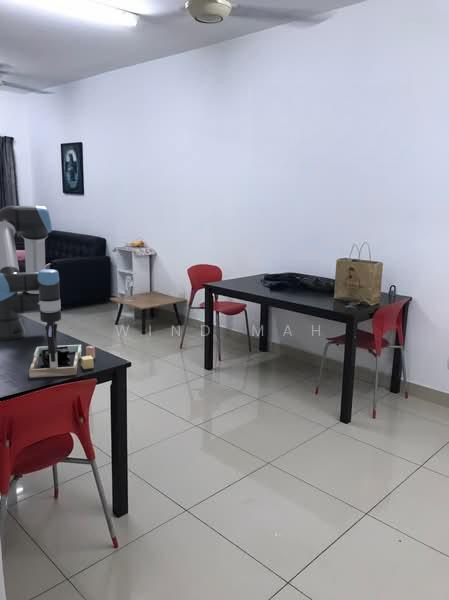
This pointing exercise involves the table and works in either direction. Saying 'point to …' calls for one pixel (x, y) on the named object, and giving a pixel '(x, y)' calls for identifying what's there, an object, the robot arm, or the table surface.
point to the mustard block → (87, 362)
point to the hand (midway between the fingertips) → (54, 368)
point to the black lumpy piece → (61, 357)
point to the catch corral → (70, 347)
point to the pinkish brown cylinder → (90, 351)
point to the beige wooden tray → (52, 369)
